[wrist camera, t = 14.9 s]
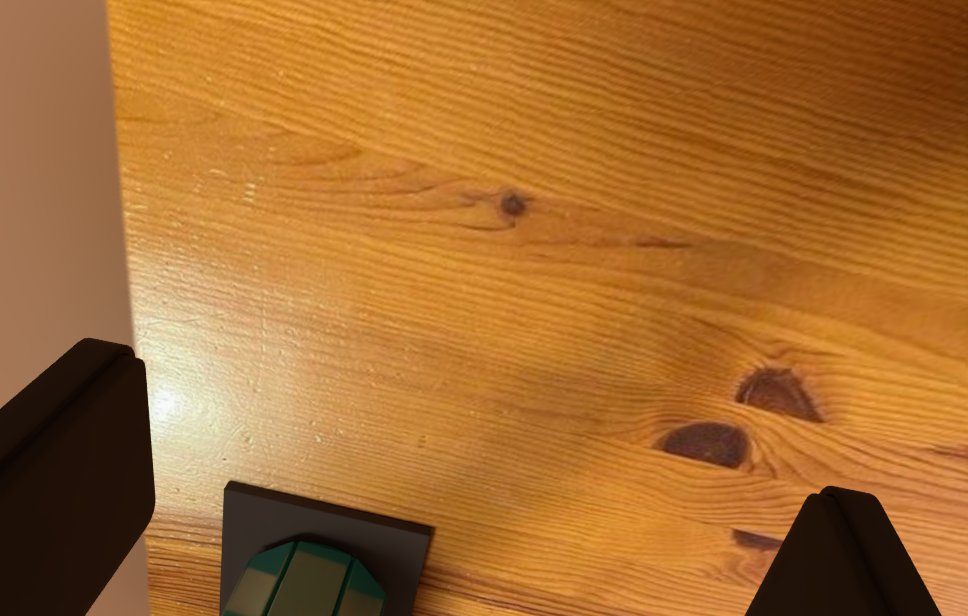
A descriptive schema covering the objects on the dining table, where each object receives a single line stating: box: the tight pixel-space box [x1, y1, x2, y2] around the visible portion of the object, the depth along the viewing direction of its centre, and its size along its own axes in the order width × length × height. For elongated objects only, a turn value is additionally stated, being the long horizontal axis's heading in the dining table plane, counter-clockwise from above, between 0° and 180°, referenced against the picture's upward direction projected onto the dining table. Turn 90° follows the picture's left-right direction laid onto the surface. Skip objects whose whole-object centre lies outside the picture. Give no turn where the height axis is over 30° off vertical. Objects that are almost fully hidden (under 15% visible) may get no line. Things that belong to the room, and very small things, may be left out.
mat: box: [219, 481, 431, 616], centre depth 36 cm, size 10×10×1 cm
